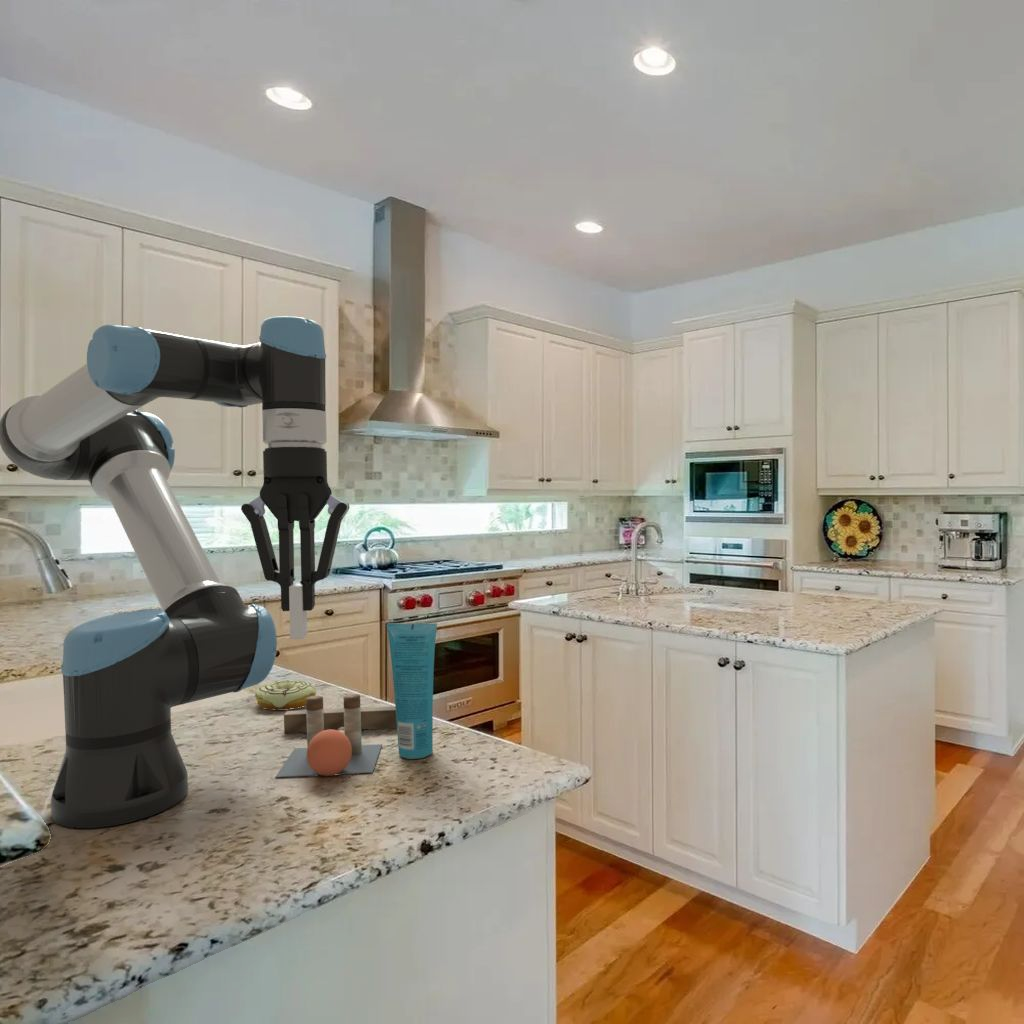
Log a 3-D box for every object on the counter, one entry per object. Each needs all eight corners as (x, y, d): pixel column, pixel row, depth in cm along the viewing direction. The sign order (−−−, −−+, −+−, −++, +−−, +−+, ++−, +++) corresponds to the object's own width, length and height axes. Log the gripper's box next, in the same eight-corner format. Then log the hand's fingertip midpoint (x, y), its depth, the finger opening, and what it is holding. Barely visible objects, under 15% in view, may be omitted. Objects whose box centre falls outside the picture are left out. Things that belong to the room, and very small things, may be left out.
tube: (442, 747, 107) (438, 619, 107) (438, 759, 102) (435, 625, 102) (392, 748, 107) (389, 620, 107) (386, 760, 102) (383, 626, 102)
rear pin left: (343, 757, 104) (342, 699, 104) (346, 751, 107) (344, 694, 106) (360, 756, 104) (358, 698, 104) (362, 750, 107) (361, 693, 107)
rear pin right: (306, 758, 104) (304, 700, 104) (309, 753, 106) (308, 696, 106) (322, 758, 104) (321, 700, 104) (326, 752, 106) (324, 695, 106)
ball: (315, 734, 102) (308, 778, 99) (306, 724, 97) (298, 770, 94) (357, 735, 102) (352, 779, 99) (350, 725, 97) (344, 772, 94)
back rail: (284, 733, 116) (283, 714, 116) (287, 729, 118) (286, 711, 118) (409, 727, 117) (408, 709, 117) (410, 723, 119) (409, 705, 119)
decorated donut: (280, 717, 126) (280, 695, 125) (243, 707, 132) (243, 687, 132) (327, 702, 134) (326, 681, 134) (290, 693, 140) (290, 674, 140)
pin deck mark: (275, 778, 97) (275, 776, 97) (294, 749, 108) (294, 748, 108) (372, 773, 98) (372, 771, 98) (381, 745, 109) (381, 744, 109)
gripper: (231, 445, 84) (235, 644, 85) (343, 444, 85) (347, 642, 86) (250, 448, 92) (253, 632, 92) (353, 448, 93) (356, 629, 93)
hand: (298, 636), depth 89 cm, fingers closed
